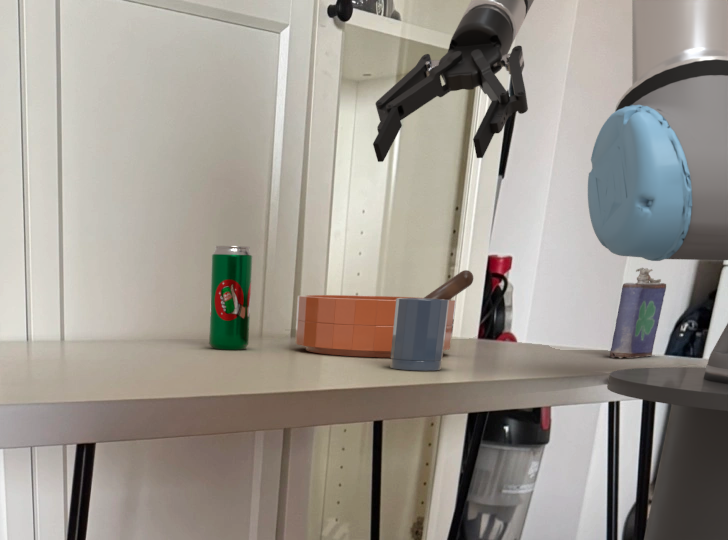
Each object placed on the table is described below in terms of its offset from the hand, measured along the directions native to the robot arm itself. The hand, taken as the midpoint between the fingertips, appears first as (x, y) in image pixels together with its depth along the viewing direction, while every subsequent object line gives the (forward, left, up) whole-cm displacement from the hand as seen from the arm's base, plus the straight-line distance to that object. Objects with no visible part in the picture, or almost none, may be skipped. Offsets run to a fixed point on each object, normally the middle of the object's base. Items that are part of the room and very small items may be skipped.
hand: (426, 151), depth 130 cm
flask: (-24, -16, -24) cm, 38 cm away
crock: (-19, +26, -24) cm, 40 cm away
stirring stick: (-2, +10, -22) cm, 25 cm away
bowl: (-2, +11, -24) cm, 26 cm away
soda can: (+11, +24, -24) cm, 35 cm away
